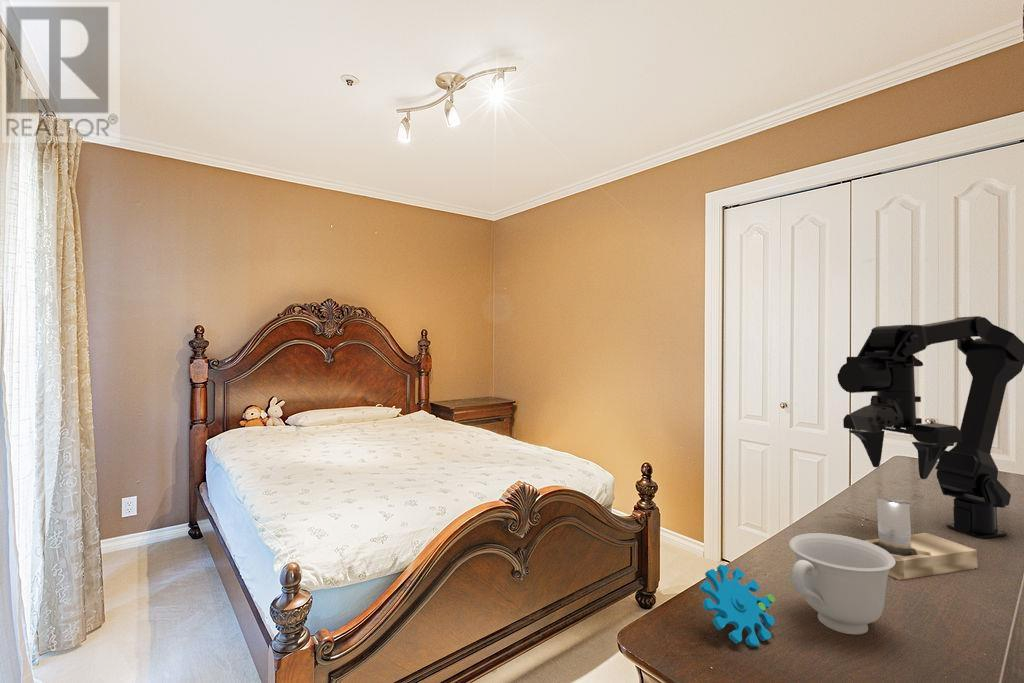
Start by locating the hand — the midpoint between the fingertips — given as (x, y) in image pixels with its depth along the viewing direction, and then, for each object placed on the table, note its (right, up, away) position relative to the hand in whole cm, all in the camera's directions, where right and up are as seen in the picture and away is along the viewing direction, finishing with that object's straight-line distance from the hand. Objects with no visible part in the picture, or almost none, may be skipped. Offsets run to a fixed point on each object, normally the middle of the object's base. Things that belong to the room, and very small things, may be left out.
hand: (898, 472), depth 92 cm
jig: (-5, -13, -9) cm, 17 cm away
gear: (-43, -14, -27) cm, 53 cm away
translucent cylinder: (-9, -13, -10) cm, 19 cm away
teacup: (-30, -14, -27) cm, 42 cm away
